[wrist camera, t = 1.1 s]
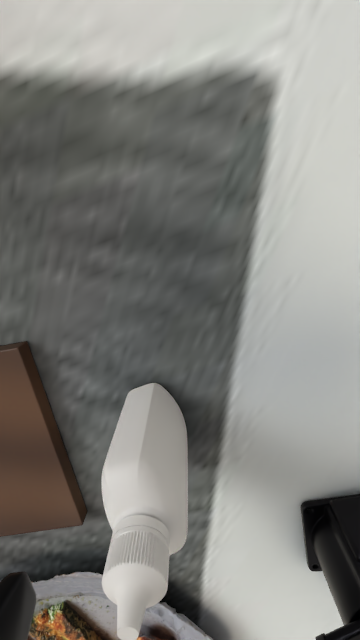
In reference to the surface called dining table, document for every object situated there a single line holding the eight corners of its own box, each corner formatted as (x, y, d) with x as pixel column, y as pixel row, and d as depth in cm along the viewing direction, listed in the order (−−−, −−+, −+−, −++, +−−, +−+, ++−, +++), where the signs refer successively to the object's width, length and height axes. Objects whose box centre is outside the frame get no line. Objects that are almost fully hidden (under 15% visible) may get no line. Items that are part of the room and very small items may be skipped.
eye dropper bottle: (123, 448, 22) (58, 682, 11) (129, 376, 21) (60, 562, 9) (184, 455, 23) (184, 694, 11) (195, 384, 21) (208, 578, 9)
